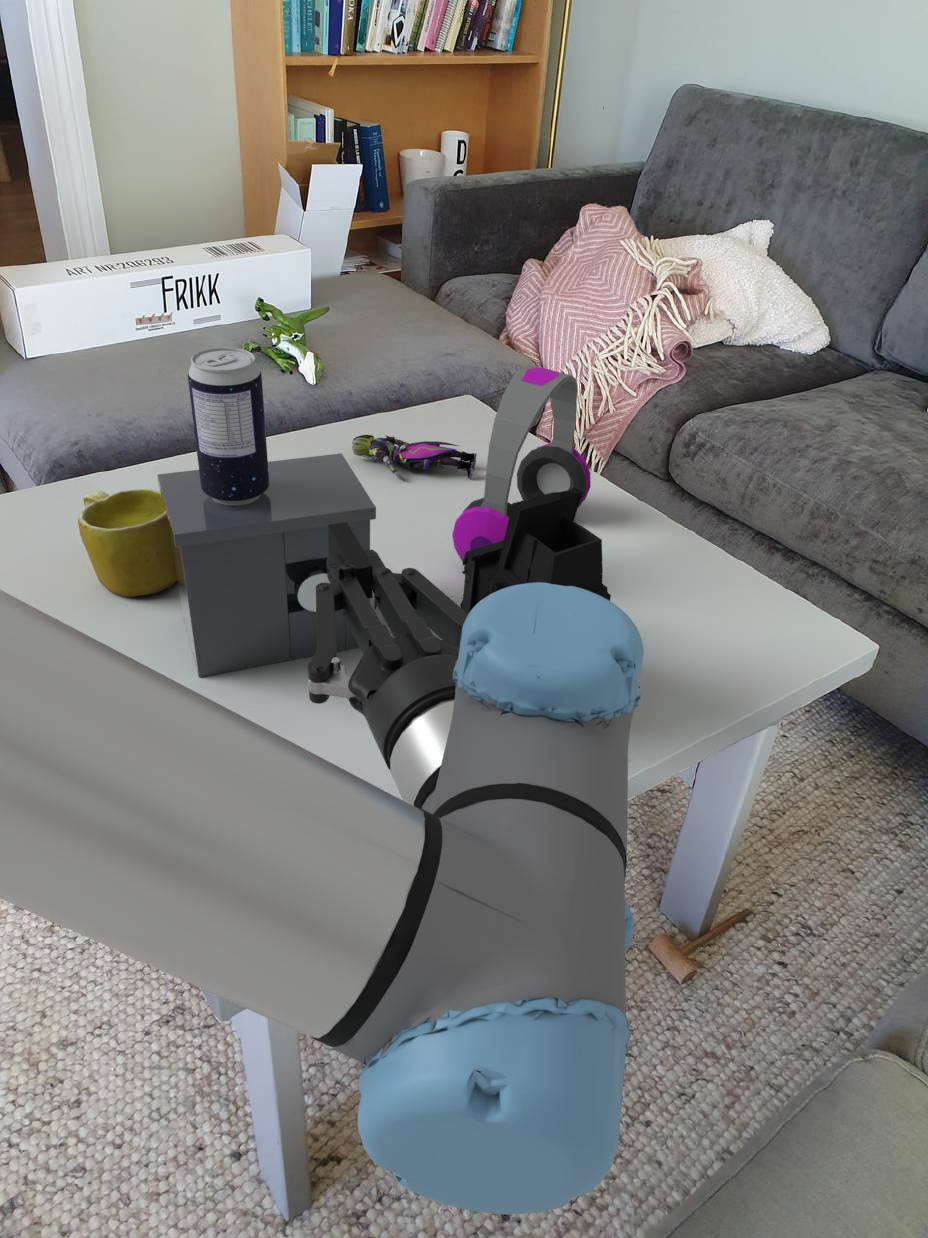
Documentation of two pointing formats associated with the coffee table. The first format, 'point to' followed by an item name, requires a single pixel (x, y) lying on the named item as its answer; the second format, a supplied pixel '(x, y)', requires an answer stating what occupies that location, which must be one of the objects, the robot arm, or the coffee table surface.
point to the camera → (537, 551)
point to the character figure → (412, 454)
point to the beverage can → (229, 425)
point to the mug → (129, 541)
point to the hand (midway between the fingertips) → (337, 538)
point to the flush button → (309, 586)
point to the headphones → (539, 469)
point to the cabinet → (259, 560)
